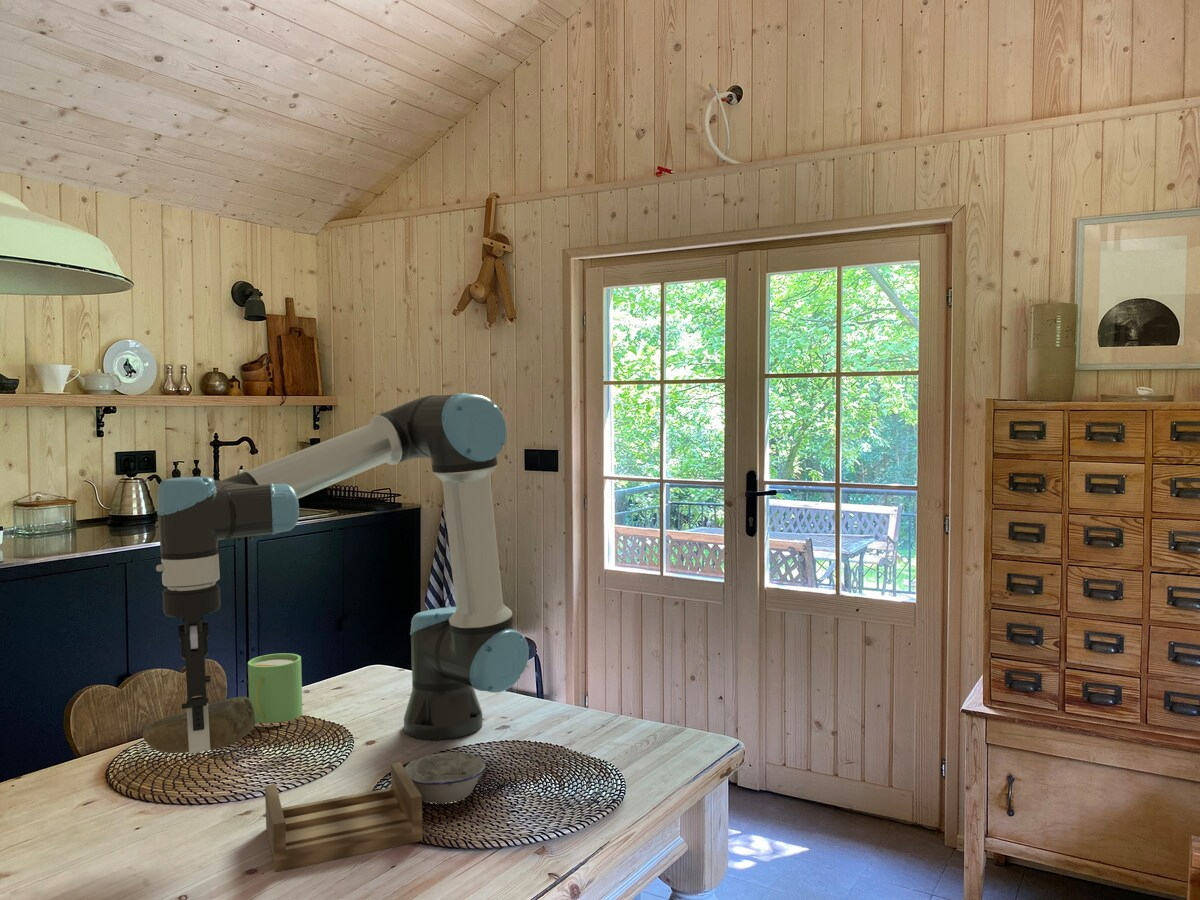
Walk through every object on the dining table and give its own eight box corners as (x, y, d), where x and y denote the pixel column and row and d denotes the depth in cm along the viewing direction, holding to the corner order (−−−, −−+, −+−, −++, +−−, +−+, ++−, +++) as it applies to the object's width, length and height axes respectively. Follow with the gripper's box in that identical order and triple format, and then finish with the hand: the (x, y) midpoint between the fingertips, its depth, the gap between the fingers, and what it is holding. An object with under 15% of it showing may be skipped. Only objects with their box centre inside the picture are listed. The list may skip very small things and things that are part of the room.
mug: (263, 709, 188) (262, 652, 187) (311, 711, 186) (309, 653, 186) (231, 730, 175) (229, 669, 175) (281, 732, 174) (279, 671, 173)
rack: (401, 802, 142) (400, 762, 141) (422, 840, 129) (421, 795, 129) (266, 828, 133) (264, 785, 133) (274, 872, 120) (273, 824, 120)
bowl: (431, 820, 135) (430, 789, 135) (389, 794, 145) (388, 765, 145) (501, 795, 144) (501, 765, 144) (458, 772, 154) (457, 744, 153)
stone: (267, 737, 129) (227, 684, 127) (175, 797, 126) (132, 744, 123) (266, 713, 137) (229, 662, 135) (180, 769, 134) (140, 718, 131)
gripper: (163, 575, 137) (171, 721, 138) (160, 602, 117) (169, 771, 119) (217, 570, 140) (224, 712, 141) (222, 596, 121) (230, 761, 122)
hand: (199, 739), depth 130 cm, fingers closed on stone, 9 cm apart
